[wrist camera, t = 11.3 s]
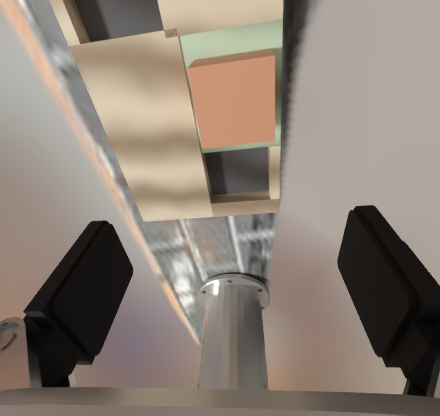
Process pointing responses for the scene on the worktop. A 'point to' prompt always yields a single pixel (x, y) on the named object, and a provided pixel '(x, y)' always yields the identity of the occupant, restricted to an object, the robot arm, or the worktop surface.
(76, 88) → the worktop surface
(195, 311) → the worktop surface
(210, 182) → the board
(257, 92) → the block
